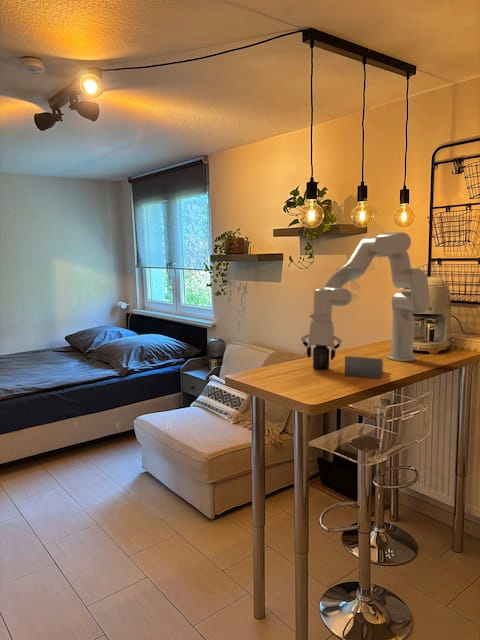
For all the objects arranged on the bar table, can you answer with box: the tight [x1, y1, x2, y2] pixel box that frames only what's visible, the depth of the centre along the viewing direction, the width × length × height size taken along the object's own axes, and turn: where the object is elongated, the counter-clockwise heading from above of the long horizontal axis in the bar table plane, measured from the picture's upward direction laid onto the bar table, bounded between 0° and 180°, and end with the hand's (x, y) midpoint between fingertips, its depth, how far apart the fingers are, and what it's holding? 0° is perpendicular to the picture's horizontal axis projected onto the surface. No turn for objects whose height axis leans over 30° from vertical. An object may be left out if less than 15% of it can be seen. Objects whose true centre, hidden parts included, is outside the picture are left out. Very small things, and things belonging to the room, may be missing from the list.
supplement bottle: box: [312, 345, 330, 371], centre depth 196 cm, size 7×7×12 cm
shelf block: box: [344, 355, 384, 380], centre depth 189 cm, size 14×14×8 cm
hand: (320, 358), depth 196 cm, fingers open, 9 cm apart
